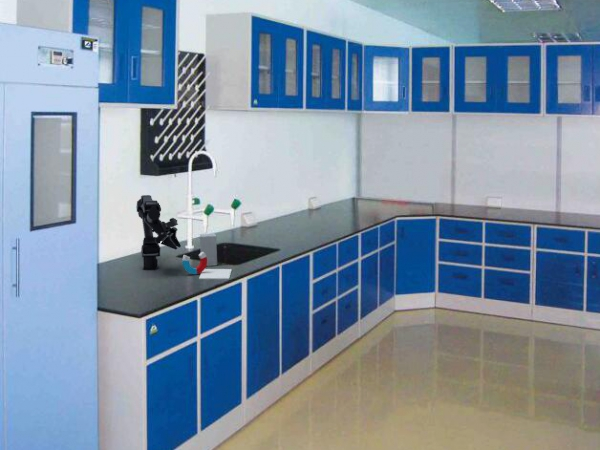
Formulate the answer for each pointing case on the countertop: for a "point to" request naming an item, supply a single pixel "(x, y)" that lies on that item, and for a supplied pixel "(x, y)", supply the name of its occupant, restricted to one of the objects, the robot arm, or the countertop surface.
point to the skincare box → (209, 248)
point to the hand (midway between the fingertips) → (178, 247)
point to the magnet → (198, 269)
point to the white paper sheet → (215, 274)
